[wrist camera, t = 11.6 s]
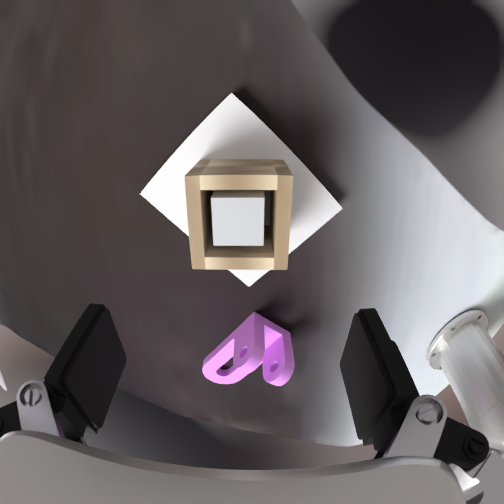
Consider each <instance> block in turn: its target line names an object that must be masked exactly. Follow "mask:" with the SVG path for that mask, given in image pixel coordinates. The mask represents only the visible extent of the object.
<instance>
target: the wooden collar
mask: <svg viewBox="0 0 504 504" xmlns="http://www.w3.org/2000/svg"><path fill="white" fill-rule="evenodd" d="M184 177H185V193H186V206H187V219H188V230H189V241H190V251H191V261H192V269H229V270H287V265H288V252H289V238H290V223H291V206H292V188H293V175H292V173H291V171H290V170H289V168H288V166H287V165H286V163H285V161H284V160H271V159H217V160H199V161H198V162H197V163H196V164H195V166H194V167H193V168H192V169H191V170H190V171H189V172H188V173H187V174H186V175H185V176H184ZM213 190H271V199H270V225H264V244H263V246H214V245H213V228H212V209H211V197H212V195H213Z"/></svg>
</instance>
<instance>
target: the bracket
mask: <svg viewBox="0 0 504 504" xmlns="http://www.w3.org/2000/svg"><path fill="white" fill-rule="evenodd" d="M232 357H233V366H231V367H230V368H229V369H225V370H224V369H220V367H221V366H222V365H223V364H225V363H226V362H227V361H228V360H229V359H230V358H232ZM262 363H263V378H264V380H265V381H266V382H269V383H271V384H273V385H276V386H282V385H284V384H285V383H286V382H287V381H288V380H289V379H290V377H291V376H292V374H293V371H294V366H295V364H294V356H293V349H292V342H291V335H290V332H288V331H287V330H285V329H283V328H281V327H280V326H278V325H276V324H274V323H273V322H271V321H269V320H268V319H266V318H264V317H262V316H261V315H259V314H257V313H256V312H253V313H252V314H251V315H250V316H249V317H248V318H247V319H246V320H245V321H244V322H243V323H242V324H241V325H240V326H239V327H238V328H237V329H236V330H235V331H234V332H233V333H231V334H230V335H229V336H228V337H227V338H226V339H225V340H224V341H223V342H222V343H221V344H220V345H219V346H218V347H217V348H216V349H214V350H213V351H212V352H211V353H210V354H209V355H208V356H207V357H206V358H205V360H204V363H203V374H204V375H205V377H206V378H208V379H209V380H211V381H213V382H215V383H219V384H232V383H235V382H238V381H239V380H241V379H242V378H243V377H245V376H246V375H247V374H249V373H250V372H252V371H254V370H255V369H256V368H257V367H258V366H259V365H260V364H262Z"/></svg>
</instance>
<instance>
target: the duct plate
mask: <svg viewBox="0 0 504 504" xmlns="http://www.w3.org/2000/svg"><path fill="white" fill-rule="evenodd" d="M217 159H271V160H284V161H285V163H286V165H287V166H288V168H289V170H290V171H291V173H292V175H293V188H292V206H291V223H290V238H289V252H288V254H289V253H291V252H292V251H293V250H294V249H295V248H297V247H298V246H299V245H300V244H301V243H303V242H304V241H305V240H306V239H307V238H308V237H310V236H311V235H312V234H313V233H314V232H316V231H317V230H318V229H319V228H320V227H321V226H323V225H324V224H325V223H326V222H327V221H328V220H330V219H331V218H332V217H333V216H334V215H336V214H337V213H338V212H339V211H340V210H341V209H342V207H341V206H340V205H339V204H338V202H337V201H336V200H335V199H334V198H333V196H332V195H331V194H330V193H329V192H328V191H327V190H326V188H325V187H324V186H323V185H322V184H321V183H320V182H319V180H318V179H317V178H316V177H315V176H314V175H313V174H312V173H311V172H310V171H309V169H308V168H307V167H306V166H305V165H304V164H303V163H302V162H301V161H300V160H299V159H298V158H297V156H296V155H295V154H294V153H293V152H292V151H291V150H290V149H289V148H288V147H287V146H286V145H285V144H284V143H283V142H282V141H281V140H280V139H279V138H278V137H277V136H276V135H275V134H274V133H273V132H272V131H271V130H270V129H269V128H268V127H267V126H266V125H265V124H264V123H263V122H262V121H261V120H260V119H259V118H258V117H257V116H256V115H255V114H254V113H253V112H252V111H251V110H250V109H249V108H248V107H246V106H245V105H244V104H243V103H242V102H241V101H240V100H239V99H238V98H237V97H236V96H235V95H233V94H232V93H231V94H230V95H229V96H228V97H227V98H226V99H225V100H224V101H223V102H222V103H221V104H220V105H219V106H218V107H217V108H216V109H215V110H214V111H213V112H212V113H211V114H210V115H209V116H208V117H207V118H206V119H205V120H204V121H203V122H202V123H201V124H200V125H199V126H198V127H197V128H196V129H195V130H194V131H193V132H192V133H191V135H190V136H189V137H188V138H187V139H186V140H185V141H184V142H183V143H182V144H181V146H180V147H179V148H178V149H177V150H176V151H175V152H174V153H173V155H172V156H171V157H170V158H169V159H168V160H167V161H166V163H165V164H164V165H163V166H162V167H161V169H160V170H159V171H158V172H157V173H156V175H155V176H154V177H153V178H152V179H151V181H150V182H149V183H148V184H147V186H146V187H145V188H144V189H143V191H142V192H141V193H140V194H141V195H142V196H143V197H144V198H145V199H147V200H148V201H149V202H150V203H151V204H152V205H153V206H154V207H156V208H157V209H158V210H159V211H160V212H161V213H162V214H164V215H165V216H166V217H167V218H168V219H169V220H171V221H172V222H173V223H174V224H175V225H176V226H177V227H179V228H180V229H181V230H182V231H183V232H184V233H186V234H187V235H188V236H189V230H188V219H187V206H186V193H185V177H184V176H185V175H186V174H187V173H188V172H189V171H190V170H191V169H192V168H193V167H194V166H195V164H196V163H197V162H198V161H199V160H217ZM270 199H271V190H213V195H212V197H211V209H212V228H213V245H214V246H263V244H264V225H270ZM228 270H229V269H228ZM229 271H230V272H232V273H233V274H234V275H235V276H236V277H238V278H239V279H240V280H241V281H243V282H244V283H245V284H246V285H247V286H251V285H252V284H253V283H254V282H255V281H257V280H258V279H259V278H260V277H262V276H263V275H264V274H265V273H266V272H268V271H269V270H229Z"/></svg>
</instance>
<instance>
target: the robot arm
mask: <svg viewBox="0 0 504 504" xmlns="http://www.w3.org/2000/svg"><path fill="white" fill-rule="evenodd" d="M488 323H489V322H488V318H487V316H486V314H485V313H484V312H483V311H481V310H470V311H467V312H465V313H463V314H461V315H459V316H458V317H456V318H454V319H453V320H452V321H451V322H449V323H448V324H447V325H446V326H445V327H444V328H443V329H442V330H441V331H440V332H439V333H438V334H437V336H436V337H435V338H434V340H433V341H432V343H431V345H430V347H429V350H428V353H427V360H428V363H429V365H430V366H431V367H432V368H434V369H437V370H441V369H443V371H444V373H445V375H446V377H447V379H448V381H449V383H450V385H451V387H452V389H453V391H454V393H455V395H456V397H457V399H458V401H459V403H460V405H461V407H462V409H463V411H464V414H465V416H466V418H467V420H468V423H469V425H470V427H471V428H470V427H468V426H466V425H464V424H462V423H459V422H457V421H455V420H453V419H451V418H449V417H447V409H446V406H445V405H444V403H443V402H442V401H441V400H440V399H439V398H437V397H435V396H433V395H421V396H420V395H419V393H418V391H417V388H416V386H415V384H414V381H413V379H412V377H411V375H410V372H409V370H408V368H407V366H406V364H405V362H404V359H403V357H402V355H401V353H400V351H399V349H398V347H397V345H396V343H395V342H394V341H393V340H391V339H390V337H389V335H388V333H387V331H386V329H385V327H384V325H383V323H382V321H381V319H380V317H379V315H378V313H377V311H376V309H374V308H370V309H360V310H359V312H358V313H355V314H354V317H353V320H352V324H351V328H350V331H349V335H348V338H347V341H346V345H345V348H344V351H343V354H342V358H341V361H340V368H341V373H342V376H343V380H344V384H345V388H346V392H347V395H348V399H349V403H350V407H351V411H352V416H353V420H354V424H355V428H356V432H357V436H358V439H359V440H361V439H362V440H363V445H364V446H365V445H370V444H373V445H374V449H375V450H376V452H375V454H374V455H373V457H372V459H371V460H365V461H360V462H353V463H347V464H340V465H331V466H322V467H313V468H301V469H286V470H227V469H211V468H200V467H189V466H182V465H174V464H167V463H161V462H155V461H149V460H144V459H139V458H135V457H130V456H125V455H121V454H117V453H113V452H109V451H106V450H102V449H98V448H94V447H91V446H88V445H87V444H86V441H85V439H84V436H83V435H84V432H85V431H87V432H90V433H94V434H97V431H98V428H101V427H102V426H103V423H104V420H105V417H106V414H107V411H108V409H109V406H110V403H111V401H112V398H113V395H114V392H115V390H116V387H117V385H118V382H119V379H120V377H121V374H122V372H123V369H124V367H125V364H126V354H125V352H124V349H123V347H122V344H121V342H120V339H119V336H118V334H117V331H116V328H115V325H114V323H113V320H112V317H111V314H110V311H109V310H108V309H107V308H106V307H105V306H104V305H102V304H92V303H91V304H89V305H88V307H87V308H86V310H85V311H84V313H83V314H82V316H81V317H80V319H79V321H78V322H77V324H76V325H75V327H74V328H73V330H72V331H71V333H70V335H69V336H68V338H67V339H66V341H65V343H64V344H63V346H62V348H61V349H60V351H59V353H58V354H57V356H56V358H55V360H54V361H53V363H52V365H51V366H50V368H49V370H48V372H47V374H46V376H45V377H44V379H45V381H44V383H42V382H41V381H39V380H30V381H28V382H26V383H24V384H23V385H22V386H21V387H20V389H19V390H18V393H17V401H15V402H13V403H10V404H8V405H6V406H4V407H1V408H0V504H504V355H503V354H502V352H501V351H500V349H499V348H498V346H497V345H496V344H495V342H494V341H493V339H492V338H491V337H490V335H489V334H488V332H487V329H488ZM489 447H492V448H496V449H499V450H501V454H500V455H498V454H497V453H496V452H495V451H492V452H490V451H489Z"/></svg>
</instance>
